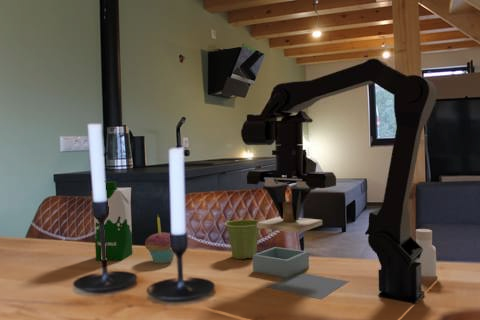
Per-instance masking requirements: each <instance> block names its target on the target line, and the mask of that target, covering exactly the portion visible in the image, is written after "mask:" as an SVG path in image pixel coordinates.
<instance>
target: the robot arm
mask: <svg viewBox="0 0 480 320" xmlns="http://www.w3.org/2000/svg"><path fill="white" fill-rule="evenodd" d="M372 84H375V85H377V86H379V87H380V88H382V89H383V90H385V91H386V92H388V93H390V94H391V95H393V112H394V117H395V119H394V120H395V126H396V130H395V135H394V141H393V145H392V151H391V158H390V164H389V168H388V174H387V179H386V184H385V185H386V186H385V191H384V197H383V201H382V205H381V206H380V208H377V209H375V210H372V211H371V212H369V213H368V226H367V230H366V231H365V233H364V234H365V235H366V236H367V235H368V236H367V243H368V246H369V247H370V248H371V250H372V251H373V252H374V253H375V254H376V257H377V259H378V261H379V265H380V268H379V269H378V271H377V272H378V291H379V293H378V294H377V296H378V297H379V298H384V299H389V300H395V301H398V302H399V301H400V302H404V303H410V304H412V305H416V304H417V303H418V302H419V301H420V299H422V297H424V296H425V291H424V290H422V276H421V263H419V262H416V261H417V260H418V259H419V258H420V256H421V254H422V251H423V248H422V247H421V246H420V245H419V244H418V243H417V242H416V239H414V238H413V236H411V219H410V212H409V202H410V195H411V191H412V185H413V180H414V175H415V170H416V165H417V164H416V163H417V158H418V153H419V148H420V142H421V138H422V132H423V130H424V127H425V126H426V124H427V121H428V120H429V118H430V116H431V114H432V112H433V108H434V107H435V104H436V101H437V98H438V89H437V87H436V85H435V84H434V83H433V82H432V81H430V80H429V79H427V78H424V77H423V76H420V75H417V74H412V75H411V74H410V75H406V74H405V73H402V72H401V71H398V70H397V69H395V68H393V67H392V66H389V65H388V64H387V63H386V62H384V61H382V60H381V59H378V58H370V59H367V60H366V61H364V62H361V63H358V64H356V65H355V64H354V65H352V66H350V67H346V68H344V69H341V70H337V71H334V72H331V73H329V74H326V75H323V76H320V77H316V78H313V79H311V80H302V81H301V80H299V81H290V82H282V83H278V84H276V85H274V86H273V88H272V91H271V93H270V98H269V99H268V100H267V102H266V104H265V106H264V108H263V109H262V111H261V113H260V114H254V113H253V114H252V113H251V114H250V113H249V114H248V113H247V114H246V119H245V120H244V122H243V125H242V127H241V129H240V135H241V139H242V142H243V143H244V144H245V145H246V146H272V145H273V144H274V143H275V144H274V145H275V149H273V150H272V151H271V156H275V169H256V170H255V169H254V170H249V171H248V172H247V174H246V177H245V184H246V185H259V184H260V183H261V182H262V183H264V186H262V190H266V192H267V193H268V196H269V197H270V199H271V200H272V202H273V204H274V206H275V208H276V211H277V212H278V214H279V216H280V217H281V219H283V202H287V200H286V191H287V189H288V187H289V184H296V187H292V188H290V191H291V202H292V206H293V216H294V220H298V219H299V218H300V216H301V213H302V210H303V207H304V204H305V201H306V199H307V197H308V196H309V194H310V192H311V191H314V190H316V189H326V188H332V187H336V186H337V177H336V175H335V174H334V172H332V171H316V170H317V162H315V161H314V160H313V159H311V158H309V157H307V155H308V154H307V150H306V149H304V142H303V141H304V139H303V137H304V136H303V135H304V134H303V129H304V128H303V127H304V126H303V124H305V123H307V124H308V123H310V124H311V123H312V122H313V121H314V120H313V118H311V117H310V116H309V115H308V114H307V112H306V111H304V110H306V109H308V108H310V107H311V106H313V105H314V104H315V103H316V102H318V101H320V100H322V99H326V98H329V97H333V96H336V95H339V94H342V93H345V92H349V91H353V90H356V89H359V88H362V87H365V86H369V85H372ZM278 119H280V120H278ZM283 183H286V184H283ZM287 183H289V184H287Z"/></svg>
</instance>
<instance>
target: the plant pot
mask: <svg viewBox="0 0 480 320" xmlns="http://www.w3.org/2000/svg"><path fill="white" fill-rule="evenodd" d="M261 221H262V220H256V219H236V220H229V221H225V223H224V226H225V227H226V231H227V232H228V238H229V244H230V250H231V255H232V257H233V258H234V259H236V260H237V259H238V260H245V259H253V255H254V254H257V253H258V241H259V232H260V229H261V228H257V223H258V222H261Z"/></svg>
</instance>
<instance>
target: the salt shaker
mask: <svg viewBox="0 0 480 320" xmlns="http://www.w3.org/2000/svg"><path fill="white" fill-rule="evenodd" d="M415 241H416V242H417V243H418V244H419V245H420V246H421V247H422V248H423V251H422V254H421V256H420V258H419V259H418V260H417V261H416V262H419V263H421V277H425V278H426V277H429V278H433V277H434V278H436V277H437V249H436V247H435V245H433V230H431V229H428V228H417V229H415Z"/></svg>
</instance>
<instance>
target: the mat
mask: <svg viewBox="0 0 480 320" xmlns="http://www.w3.org/2000/svg"><path fill="white" fill-rule="evenodd" d="M348 283H350V280H349V281H348V280H343V279H339V278H333V277H325V276H321V275H317V274H316V275H315V274H311V273H310V274H309V273H303V272H299V273H297V274H295V275H293V276H291V277H289V278H285V277H283V278H282V279H279V280H277V281H276V282H274V283H272V284H270V285H267V286H265V288H266V289H271V290H275V291H281V292H285V293H289V294H293V295H299V296H303V297H307V298H311V299H318V300H323V299H324V298H326V297H328V296H329V295H331V294H332V293H334V292H335V291H337V290H338V289H340V288H342V287H343V286H345V285H346V284H348Z"/></svg>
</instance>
